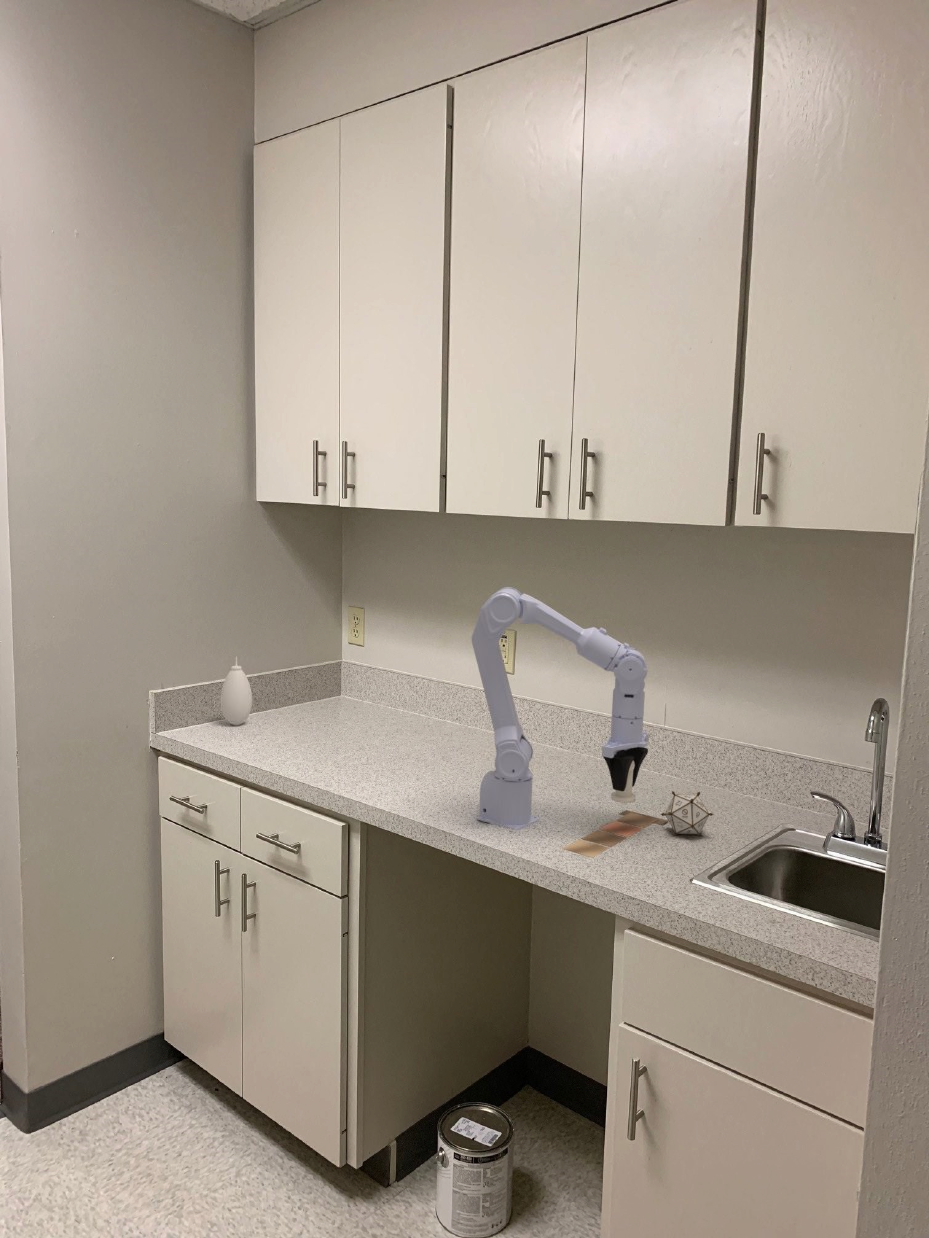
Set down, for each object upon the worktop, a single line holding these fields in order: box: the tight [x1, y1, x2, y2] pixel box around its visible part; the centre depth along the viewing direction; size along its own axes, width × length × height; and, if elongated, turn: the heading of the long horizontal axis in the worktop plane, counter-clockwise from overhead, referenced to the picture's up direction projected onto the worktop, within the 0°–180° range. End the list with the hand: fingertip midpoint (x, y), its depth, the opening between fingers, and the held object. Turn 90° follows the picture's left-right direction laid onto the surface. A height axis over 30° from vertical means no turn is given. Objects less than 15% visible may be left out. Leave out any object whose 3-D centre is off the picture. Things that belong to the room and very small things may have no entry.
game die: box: [660, 790, 714, 837], centre depth 173 cm, size 9×8×10 cm
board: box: [562, 809, 669, 859], centre depth 172 cm, size 9×28×1 cm, turn 143°
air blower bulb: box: [220, 656, 253, 726], centre depth 243 cm, size 8×8×18 cm
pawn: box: [610, 761, 636, 804], centre depth 174 cm, size 4×4×8 cm
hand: (623, 787), depth 174 cm, fingers closed on pawn, 3 cm apart
